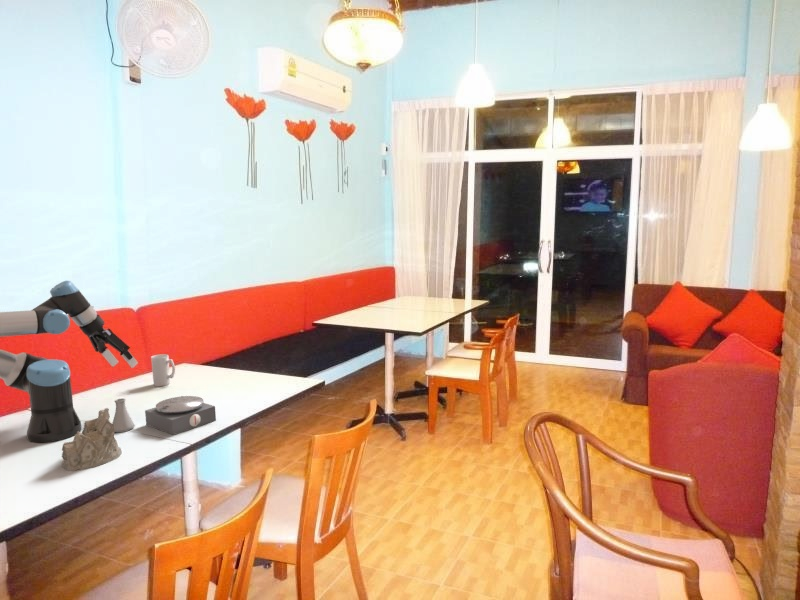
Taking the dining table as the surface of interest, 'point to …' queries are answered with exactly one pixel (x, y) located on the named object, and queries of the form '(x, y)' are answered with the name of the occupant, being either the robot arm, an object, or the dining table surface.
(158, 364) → the mug
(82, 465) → the ceramic cottage
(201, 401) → the scale pan
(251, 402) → the dining table surface
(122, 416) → the flask
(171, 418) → the base
